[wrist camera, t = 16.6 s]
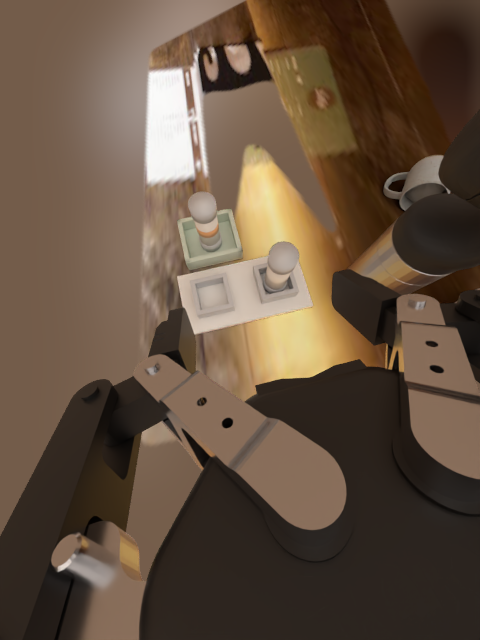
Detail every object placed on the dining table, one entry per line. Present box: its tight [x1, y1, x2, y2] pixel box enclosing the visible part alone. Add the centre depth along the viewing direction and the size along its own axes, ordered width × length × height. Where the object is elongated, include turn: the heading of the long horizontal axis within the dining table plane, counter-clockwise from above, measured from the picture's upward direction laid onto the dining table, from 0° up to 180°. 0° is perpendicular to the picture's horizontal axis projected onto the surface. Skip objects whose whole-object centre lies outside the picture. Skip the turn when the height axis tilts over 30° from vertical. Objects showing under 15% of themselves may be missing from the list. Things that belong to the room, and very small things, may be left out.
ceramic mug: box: [383, 155, 450, 211], centre depth 46 cm, size 11×8×8 cm
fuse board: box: [177, 256, 313, 335], centre depth 43 cm, size 24×12×4 cm, turn 104°
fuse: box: [263, 242, 299, 294], centre depth 39 cm, size 4×4×11 cm
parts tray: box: [177, 208, 243, 270], centre depth 46 cm, size 11×10×3 cm
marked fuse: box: [188, 192, 222, 252], centre depth 41 cm, size 4×4×11 cm
